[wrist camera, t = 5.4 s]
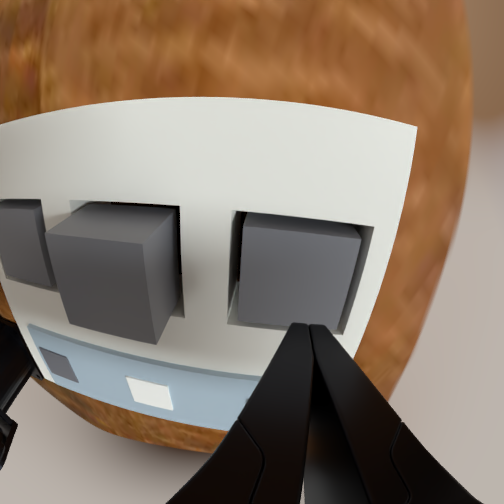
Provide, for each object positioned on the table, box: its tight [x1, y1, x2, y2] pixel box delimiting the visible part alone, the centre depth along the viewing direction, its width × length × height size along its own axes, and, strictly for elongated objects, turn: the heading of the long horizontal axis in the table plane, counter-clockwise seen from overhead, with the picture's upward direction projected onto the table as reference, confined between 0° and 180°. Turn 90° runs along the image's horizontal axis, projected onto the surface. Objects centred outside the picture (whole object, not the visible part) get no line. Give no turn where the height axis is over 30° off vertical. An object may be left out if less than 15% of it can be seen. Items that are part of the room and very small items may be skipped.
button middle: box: [45, 204, 180, 345], centre depth 9 cm, size 4×4×3 cm
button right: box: [237, 212, 362, 330], centre depth 11 cm, size 4×4×3 cm
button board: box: [0, 97, 417, 431], centre depth 12 cm, size 16×18×3 cm
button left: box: [0, 199, 56, 287], centre depth 11 cm, size 4×4×3 cm
